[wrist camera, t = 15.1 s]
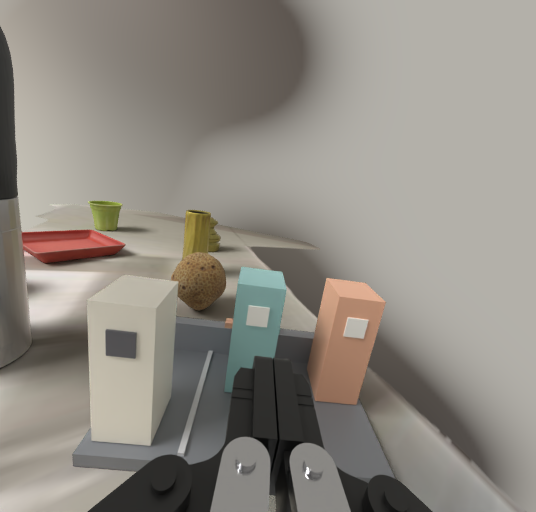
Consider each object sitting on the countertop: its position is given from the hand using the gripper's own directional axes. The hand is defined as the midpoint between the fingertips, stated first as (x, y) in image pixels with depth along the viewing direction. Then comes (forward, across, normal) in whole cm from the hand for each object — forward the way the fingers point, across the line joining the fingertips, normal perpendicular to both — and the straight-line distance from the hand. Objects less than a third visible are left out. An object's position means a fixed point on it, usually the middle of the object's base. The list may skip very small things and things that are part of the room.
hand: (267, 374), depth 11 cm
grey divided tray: (+13, 0, +15) cm, 20 cm away
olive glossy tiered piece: (+72, +14, +17) cm, 75 cm away
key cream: (+9, +9, +14) cm, 19 cm away
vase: (+49, +13, +17) cm, 54 cm away
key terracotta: (+15, -10, +14) cm, 23 cm away
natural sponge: (+33, +9, +16) cm, 37 cm away
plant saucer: (+54, +44, +18) cm, 72 cm away
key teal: (+15, 0, +14) cm, 21 cm away
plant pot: (+79, +50, +18) cm, 95 cm away
